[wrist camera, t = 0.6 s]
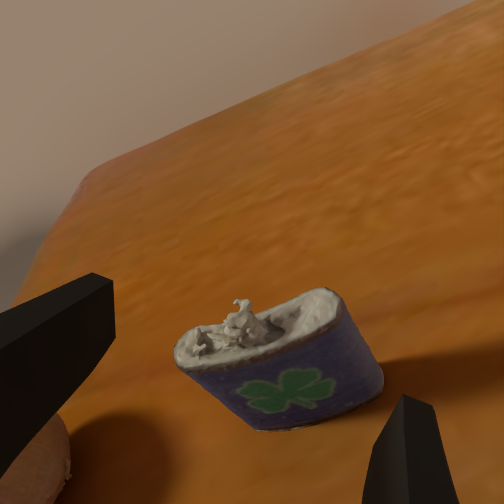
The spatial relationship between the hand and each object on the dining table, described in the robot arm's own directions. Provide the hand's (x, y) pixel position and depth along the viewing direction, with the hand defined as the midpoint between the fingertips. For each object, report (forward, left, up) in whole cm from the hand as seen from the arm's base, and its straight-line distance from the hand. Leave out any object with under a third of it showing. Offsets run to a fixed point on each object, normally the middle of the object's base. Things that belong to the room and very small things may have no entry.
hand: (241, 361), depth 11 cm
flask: (+5, +5, -17) cm, 19 cm away
